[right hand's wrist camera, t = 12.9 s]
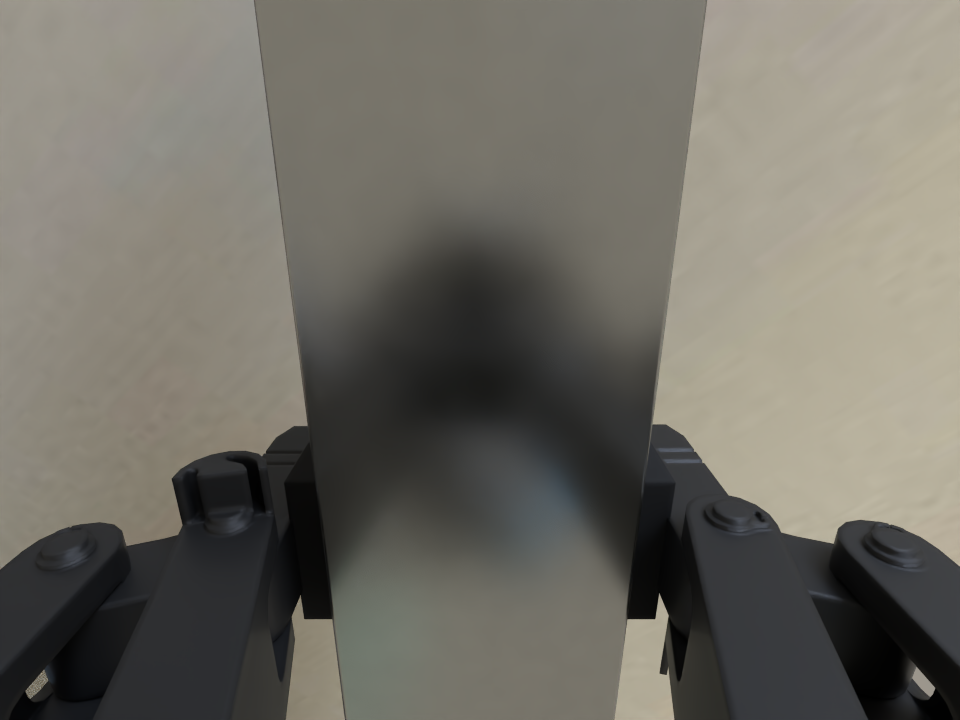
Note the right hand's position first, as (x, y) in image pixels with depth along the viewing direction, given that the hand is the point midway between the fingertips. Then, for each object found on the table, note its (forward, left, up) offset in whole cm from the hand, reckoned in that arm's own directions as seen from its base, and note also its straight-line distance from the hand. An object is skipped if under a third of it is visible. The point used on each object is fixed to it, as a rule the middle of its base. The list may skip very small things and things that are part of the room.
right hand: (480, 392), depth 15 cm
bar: (+5, +8, -1) cm, 10 cm away
